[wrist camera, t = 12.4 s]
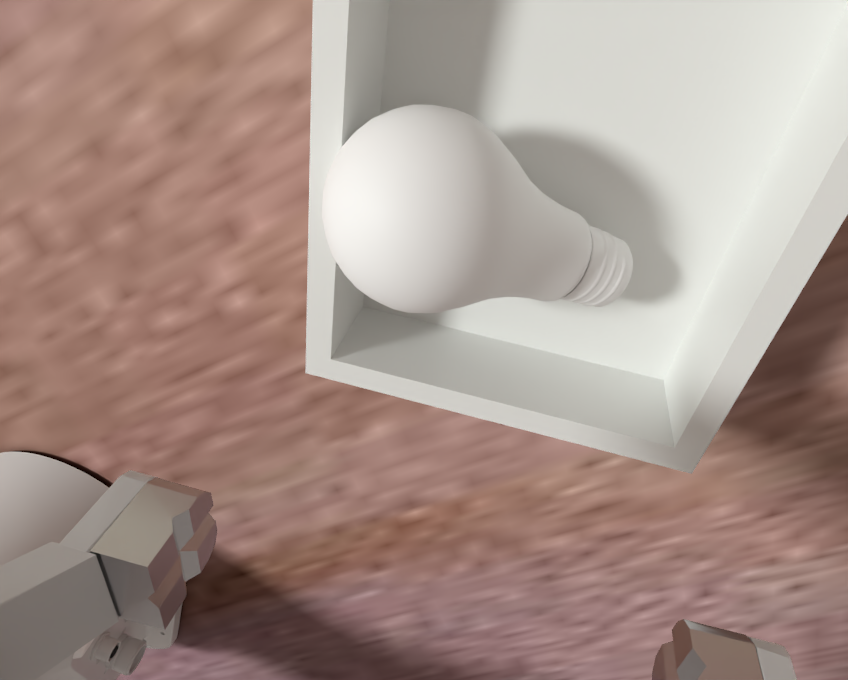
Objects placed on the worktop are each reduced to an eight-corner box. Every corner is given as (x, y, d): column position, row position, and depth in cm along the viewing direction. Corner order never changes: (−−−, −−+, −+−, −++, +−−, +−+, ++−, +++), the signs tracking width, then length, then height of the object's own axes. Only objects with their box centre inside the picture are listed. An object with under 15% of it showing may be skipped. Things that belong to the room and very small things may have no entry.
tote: (675, 389, 26) (691, 473, 21) (347, 308, 27) (305, 373, 23) (973, -193, 14) (1122, -243, 10) (387, -271, 16) (319, -341, 12)
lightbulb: (551, 349, 24) (284, 282, 19) (589, 202, 24) (327, 101, 19) (665, 376, 18) (326, 291, 14) (715, 184, 18) (387, 35, 14)
